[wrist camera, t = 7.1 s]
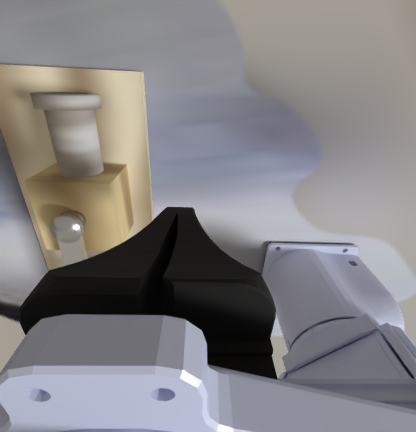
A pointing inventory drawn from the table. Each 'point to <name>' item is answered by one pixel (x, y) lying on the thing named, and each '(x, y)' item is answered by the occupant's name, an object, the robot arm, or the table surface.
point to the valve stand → (79, 151)
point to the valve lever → (69, 237)
